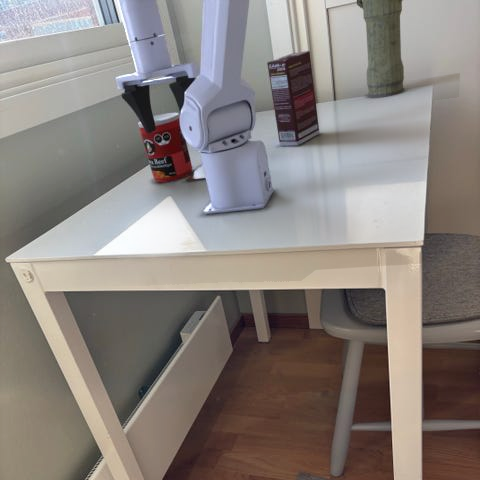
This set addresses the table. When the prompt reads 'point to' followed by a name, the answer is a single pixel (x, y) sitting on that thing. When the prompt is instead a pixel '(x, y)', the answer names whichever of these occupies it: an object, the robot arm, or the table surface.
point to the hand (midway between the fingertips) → (170, 129)
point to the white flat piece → (197, 174)
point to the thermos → (383, 46)
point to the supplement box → (294, 98)
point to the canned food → (167, 148)
